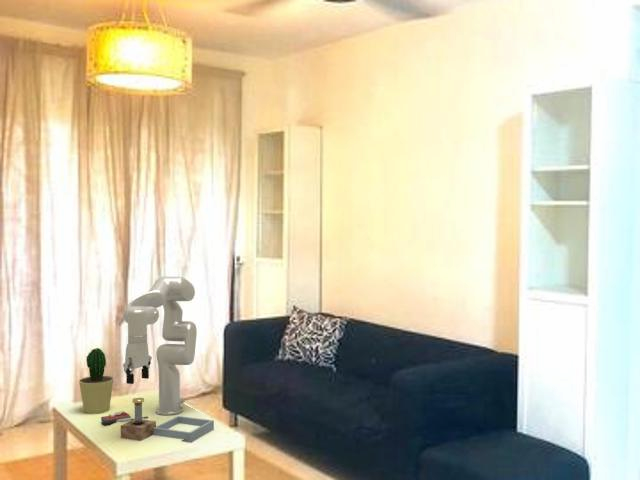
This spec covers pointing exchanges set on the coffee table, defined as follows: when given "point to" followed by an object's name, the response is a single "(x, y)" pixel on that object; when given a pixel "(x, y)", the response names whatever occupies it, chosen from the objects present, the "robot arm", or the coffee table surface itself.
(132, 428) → the holder block
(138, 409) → the pin
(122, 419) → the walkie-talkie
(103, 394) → the potted cactus
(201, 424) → the tray
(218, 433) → the coffee table surface
